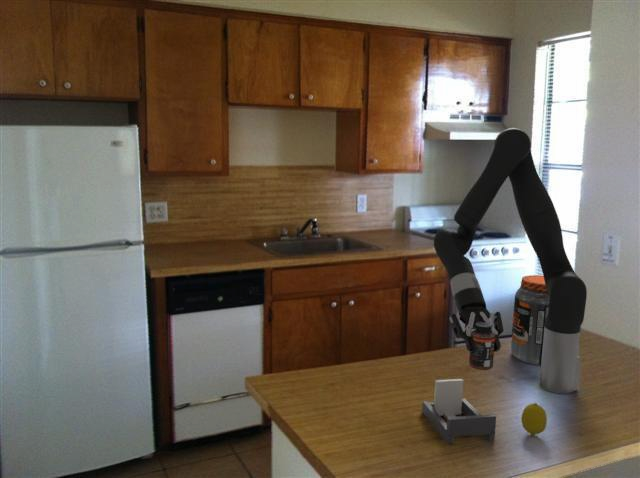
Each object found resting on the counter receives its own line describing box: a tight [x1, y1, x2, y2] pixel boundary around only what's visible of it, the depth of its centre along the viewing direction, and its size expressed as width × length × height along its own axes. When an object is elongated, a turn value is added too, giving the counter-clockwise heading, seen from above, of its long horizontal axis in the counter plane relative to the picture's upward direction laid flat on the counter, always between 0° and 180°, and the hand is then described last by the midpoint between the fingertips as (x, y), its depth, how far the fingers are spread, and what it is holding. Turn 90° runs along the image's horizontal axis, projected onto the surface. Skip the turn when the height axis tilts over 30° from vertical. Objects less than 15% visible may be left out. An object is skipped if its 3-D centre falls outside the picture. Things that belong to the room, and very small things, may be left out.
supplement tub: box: [510, 274, 550, 366], centre depth 184 cm, size 16×16×26 cm
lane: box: [421, 397, 497, 446], centre depth 139 cm, size 11×16×6 cm
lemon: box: [521, 402, 548, 436], centre depth 135 cm, size 6×6×8 cm
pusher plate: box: [433, 378, 464, 420], centre depth 139 cm, size 7×11×9 cm, turn 11°
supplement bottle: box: [468, 322, 495, 371], centre depth 147 cm, size 6×6×11 cm
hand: (485, 351), depth 146 cm, fingers closed on supplement bottle, 6 cm apart
